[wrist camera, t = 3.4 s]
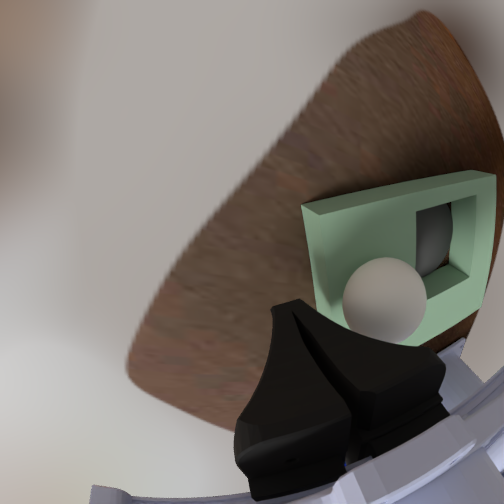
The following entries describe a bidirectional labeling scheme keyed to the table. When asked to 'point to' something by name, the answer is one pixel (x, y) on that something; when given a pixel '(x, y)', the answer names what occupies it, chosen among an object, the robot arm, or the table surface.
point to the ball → (384, 300)
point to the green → (408, 242)
